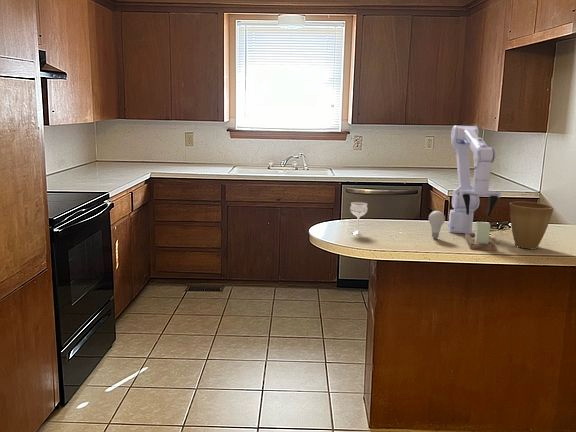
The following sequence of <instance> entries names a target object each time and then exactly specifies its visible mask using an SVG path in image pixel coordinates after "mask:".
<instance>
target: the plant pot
mask: <svg viewBox="0 0 576 432" xmlns="http://www.w3.org/2000/svg"><path fill="white" fill-rule="evenodd" d="M553 211H554V206H553V205H549V204H547V203H546V204H545V203H540V202H532V201H512V202H509V214H510V215H509V218H510V226H511V233H512V237H513V241H514V244H515V247H517V246H518V247H517V248H520V247H521V248H520V249H524V248H530V249H529V250H532V249H531V248H536V249H537V248H538V247H539V245H540V243H541V241H542V240H543V238H544V235H545V233H546V231H547V229H548V226H549V223H550V221H551V218H552V214H553Z"/></svg>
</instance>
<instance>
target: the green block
mask: <svg viewBox="0 0 576 432" xmlns="http://www.w3.org/2000/svg"><path fill="white" fill-rule="evenodd" d="M474 233H475V239H474V243H482V244H489V236H490V235H491V234H490V233H491V224H490V222H487V221H475V231H474Z"/></svg>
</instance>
